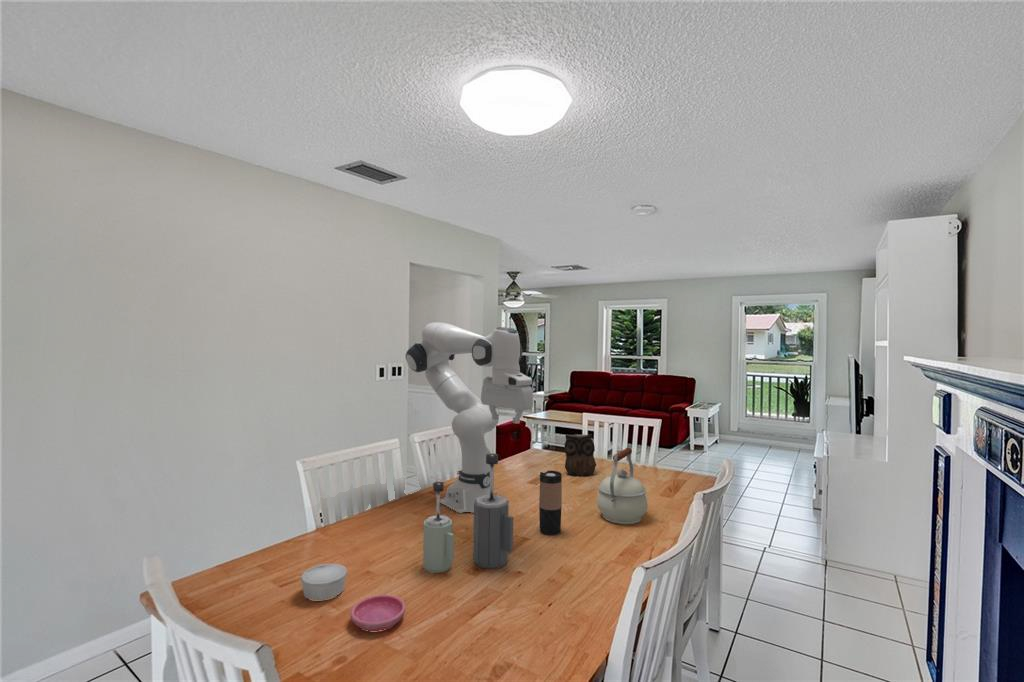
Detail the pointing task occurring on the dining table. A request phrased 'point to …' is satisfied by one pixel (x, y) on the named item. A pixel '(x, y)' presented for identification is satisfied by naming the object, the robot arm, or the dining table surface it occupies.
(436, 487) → the plunger small
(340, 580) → the ramekin
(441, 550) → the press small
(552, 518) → the travel mug
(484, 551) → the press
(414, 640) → the dining table surface
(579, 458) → the owl
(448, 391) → the robot arm
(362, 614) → the saucer
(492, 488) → the plunger
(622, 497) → the kettle
